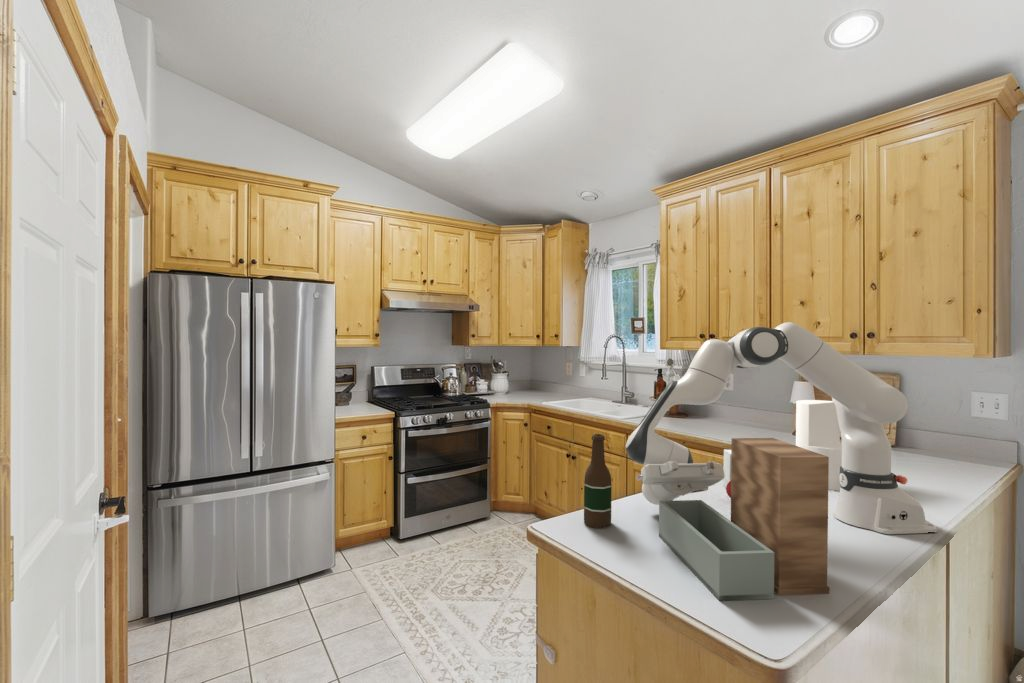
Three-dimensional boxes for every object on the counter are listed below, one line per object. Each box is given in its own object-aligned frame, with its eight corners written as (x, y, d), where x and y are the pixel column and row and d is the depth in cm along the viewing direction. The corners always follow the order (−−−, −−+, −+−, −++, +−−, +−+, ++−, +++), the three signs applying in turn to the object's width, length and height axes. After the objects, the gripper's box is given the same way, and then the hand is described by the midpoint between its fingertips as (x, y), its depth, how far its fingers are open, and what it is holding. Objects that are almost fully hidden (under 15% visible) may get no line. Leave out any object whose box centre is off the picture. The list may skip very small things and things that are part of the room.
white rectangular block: (784, 479, 173) (785, 401, 172) (815, 473, 180) (816, 398, 180) (833, 493, 157) (835, 407, 157) (865, 487, 164) (866, 405, 164)
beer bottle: (605, 531, 125) (606, 439, 125) (578, 525, 129) (579, 435, 129) (616, 521, 132) (617, 434, 131) (589, 515, 136) (590, 431, 135)
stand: (728, 552, 113) (729, 437, 113) (771, 551, 114) (772, 437, 113) (778, 595, 94) (780, 457, 94) (829, 593, 95) (831, 457, 95)
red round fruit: (749, 506, 145) (749, 479, 145) (728, 504, 146) (728, 478, 146) (743, 499, 150) (744, 474, 150) (724, 498, 152) (724, 472, 151)
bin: (658, 536, 122) (659, 500, 122) (700, 535, 123) (701, 500, 123) (719, 600, 92) (719, 554, 92) (773, 598, 93) (774, 552, 93)
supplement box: (729, 492, 157) (729, 453, 157) (722, 485, 165) (723, 448, 165) (753, 493, 156) (753, 454, 156) (745, 486, 164) (746, 449, 164)
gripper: (632, 467, 128) (648, 452, 116) (706, 466, 129) (730, 451, 117) (636, 492, 125) (653, 479, 113) (712, 490, 126) (737, 477, 114)
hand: (693, 465), depth 115 cm, fingers open, 8 cm apart
